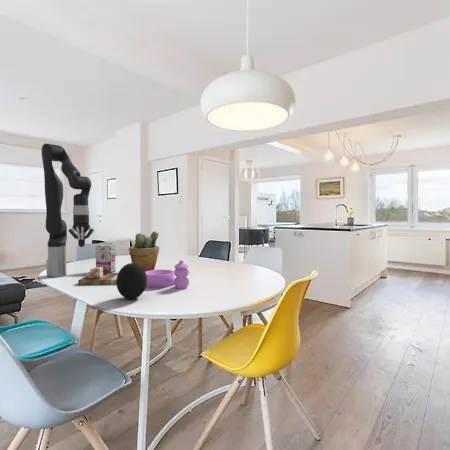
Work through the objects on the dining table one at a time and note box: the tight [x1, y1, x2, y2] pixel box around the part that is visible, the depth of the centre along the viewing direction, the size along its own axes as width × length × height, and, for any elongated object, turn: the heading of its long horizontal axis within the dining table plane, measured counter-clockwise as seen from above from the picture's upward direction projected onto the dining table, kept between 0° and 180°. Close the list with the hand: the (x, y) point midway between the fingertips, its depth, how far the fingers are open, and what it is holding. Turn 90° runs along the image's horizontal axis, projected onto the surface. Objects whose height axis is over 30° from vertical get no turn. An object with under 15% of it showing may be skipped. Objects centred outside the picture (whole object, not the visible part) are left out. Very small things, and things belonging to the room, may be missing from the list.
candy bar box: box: [95, 244, 116, 273], centre depth 188 cm, size 11×5×16 cm, turn 73°
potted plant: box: [128, 231, 160, 272], centre depth 187 cm, size 18×19×25 cm
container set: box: [146, 260, 190, 290], centre depth 151 cm, size 25×15×13 cm, turn 63°
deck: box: [77, 272, 119, 286], centre depth 162 cm, size 24×18×5 cm
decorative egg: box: [115, 262, 147, 300], centre depth 128 cm, size 12×12×15 cm
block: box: [89, 266, 104, 277], centre depth 162 cm, size 5×5×4 cm
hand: (81, 246), depth 161 cm, fingers closed
